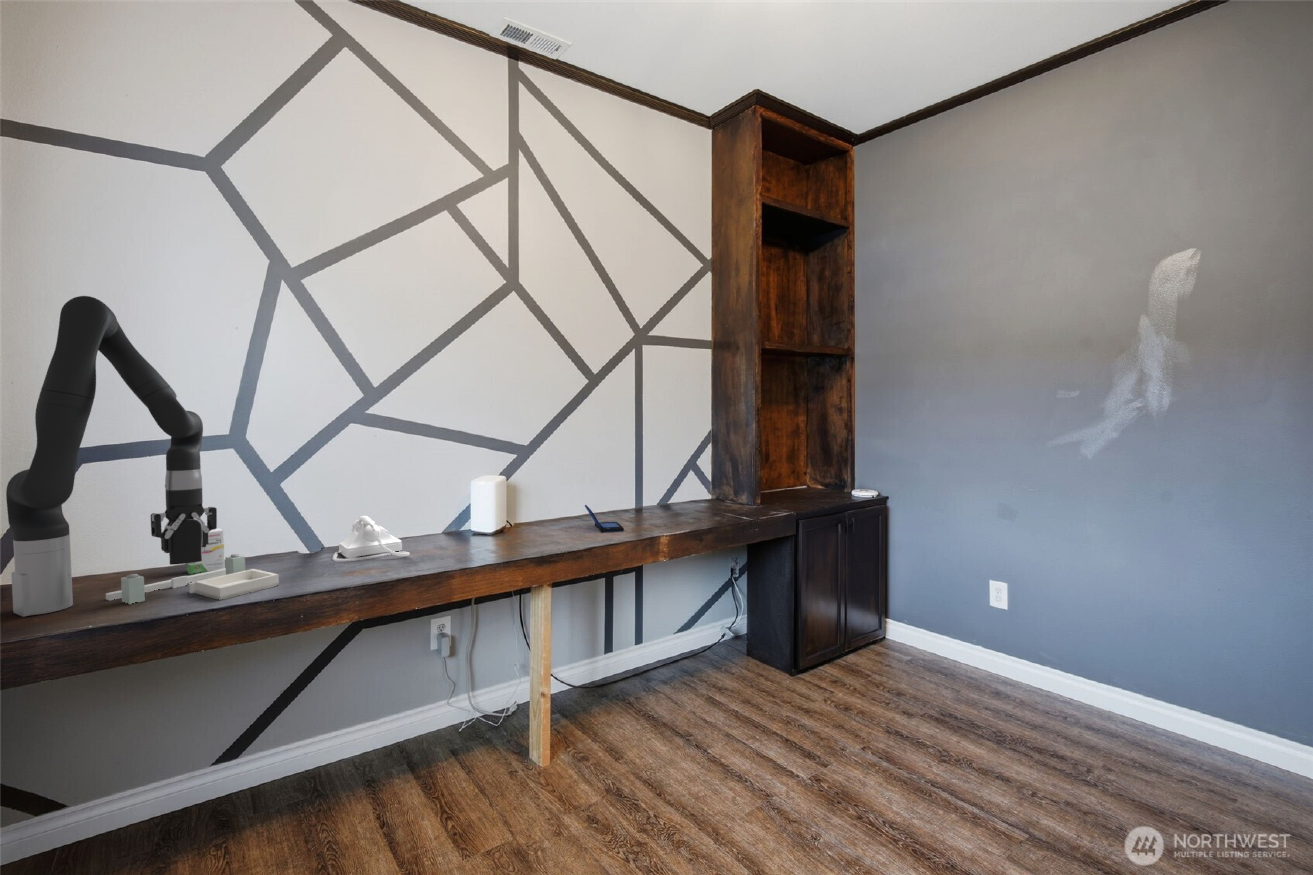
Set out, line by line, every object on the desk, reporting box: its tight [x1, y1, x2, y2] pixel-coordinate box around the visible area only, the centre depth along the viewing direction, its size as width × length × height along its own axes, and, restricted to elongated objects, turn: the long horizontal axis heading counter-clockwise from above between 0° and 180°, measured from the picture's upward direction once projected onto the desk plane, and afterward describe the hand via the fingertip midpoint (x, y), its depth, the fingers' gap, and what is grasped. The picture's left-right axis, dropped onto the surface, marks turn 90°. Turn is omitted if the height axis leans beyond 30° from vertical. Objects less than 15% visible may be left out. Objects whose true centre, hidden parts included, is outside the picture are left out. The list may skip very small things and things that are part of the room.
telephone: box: [331, 515, 411, 563], centre depth 193 cm, size 25×21×12 cm
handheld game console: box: [584, 504, 625, 533], centre depth 235 cm, size 16×13×9 cm
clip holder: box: [105, 553, 246, 605], centre depth 157 cm, size 28×13×7 cm, turn 152°
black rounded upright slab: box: [168, 519, 202, 566], centre depth 155 cm, size 7×4×11 cm, turn 125°
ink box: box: [185, 527, 226, 575], centre depth 174 cm, size 8×5×12 cm, turn 138°
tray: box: [194, 568, 280, 601], centre depth 156 cm, size 14×12×3 cm
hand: (185, 549), depth 155 cm, fingers closed on black rounded upright slab, 7 cm apart
